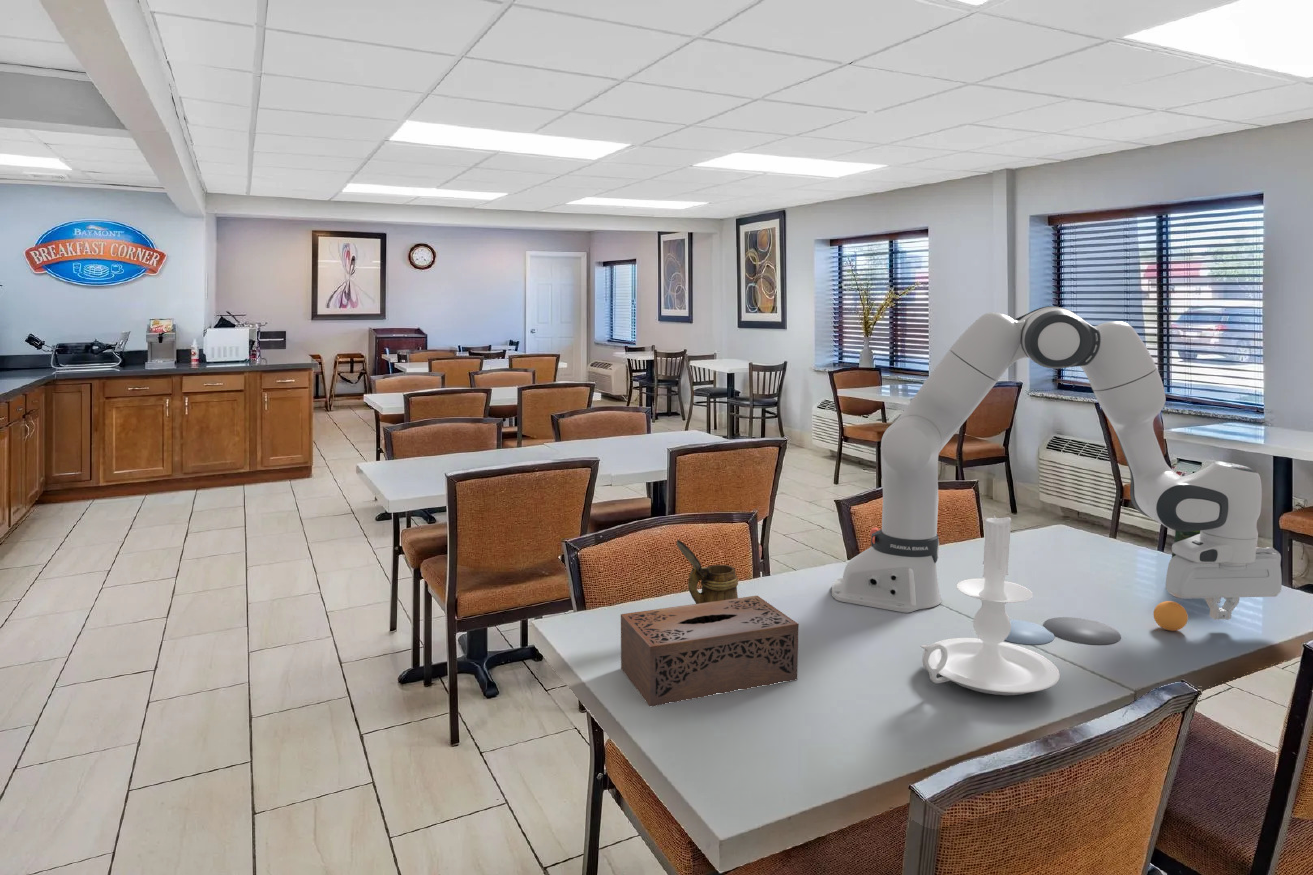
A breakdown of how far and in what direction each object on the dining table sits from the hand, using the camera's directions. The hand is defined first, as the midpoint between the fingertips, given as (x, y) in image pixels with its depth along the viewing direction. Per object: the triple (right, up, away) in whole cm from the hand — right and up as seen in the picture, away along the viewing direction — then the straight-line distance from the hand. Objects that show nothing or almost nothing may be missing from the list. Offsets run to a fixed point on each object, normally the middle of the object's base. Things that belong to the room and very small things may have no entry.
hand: (1220, 618), depth 152 cm
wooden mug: (-97, -2, +3) cm, 97 cm away
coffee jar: (+11, +1, +24) cm, 26 cm away
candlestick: (-55, -6, -22) cm, 59 cm away
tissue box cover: (-99, -6, -18) cm, 100 cm away
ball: (-10, +1, 0) cm, 10 cm away
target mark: (-27, -2, 0) cm, 27 cm away
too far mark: (-39, -2, -1) cm, 39 cm away
